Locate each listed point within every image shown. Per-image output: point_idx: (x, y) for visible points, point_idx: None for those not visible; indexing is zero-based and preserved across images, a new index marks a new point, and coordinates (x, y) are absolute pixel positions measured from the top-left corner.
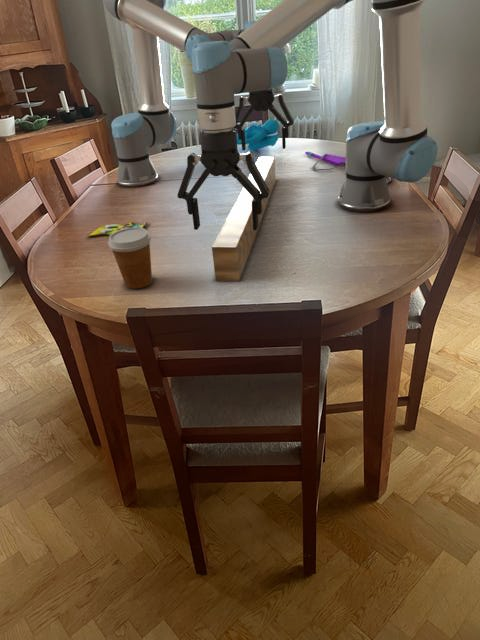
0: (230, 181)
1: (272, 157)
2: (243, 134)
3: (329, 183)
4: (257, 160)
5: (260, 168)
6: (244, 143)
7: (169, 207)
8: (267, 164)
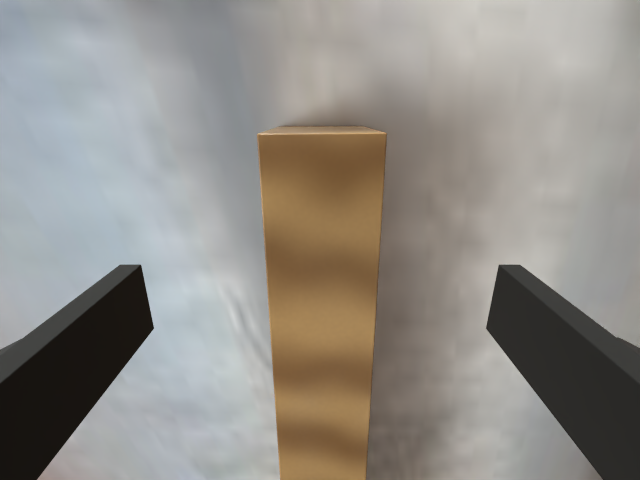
0: (109, 121)
1: (369, 165)
2: (55, 435)
3: (627, 192)
4: (265, 233)
5: (317, 394)
6: (119, 338)
7: None
8: (349, 329)
